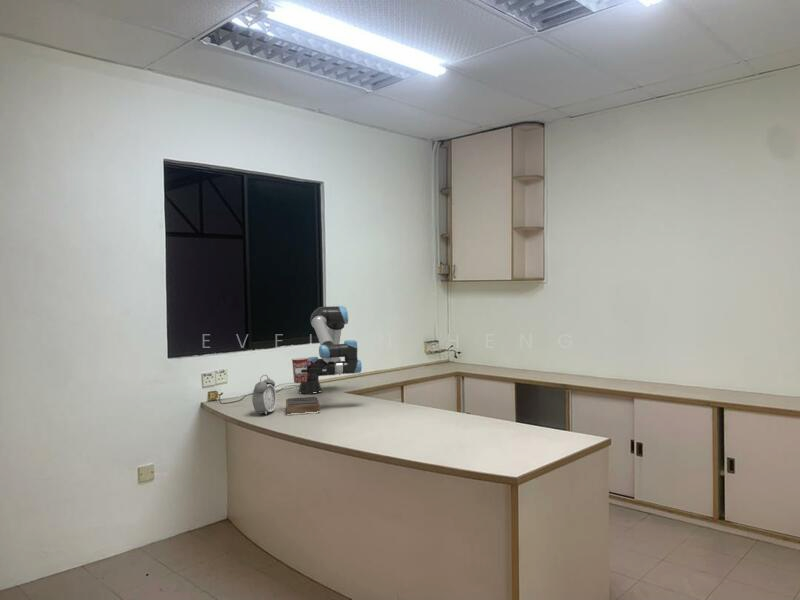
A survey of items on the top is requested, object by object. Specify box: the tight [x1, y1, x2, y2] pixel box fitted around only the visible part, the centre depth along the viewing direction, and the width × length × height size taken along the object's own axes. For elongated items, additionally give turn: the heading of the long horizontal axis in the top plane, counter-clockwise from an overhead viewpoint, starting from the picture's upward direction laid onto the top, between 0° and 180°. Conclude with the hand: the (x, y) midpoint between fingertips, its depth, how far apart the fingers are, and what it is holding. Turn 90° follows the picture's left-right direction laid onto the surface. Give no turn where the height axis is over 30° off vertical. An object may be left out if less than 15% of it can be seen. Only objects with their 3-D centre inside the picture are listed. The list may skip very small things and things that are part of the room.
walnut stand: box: [285, 396, 321, 415], centre depth 318 cm, size 18×18×6 cm
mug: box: [291, 357, 313, 384], centre depth 318 cm, size 13×9×14 cm
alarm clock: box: [251, 374, 277, 415], centre depth 312 cm, size 16×9×22 cm, turn 168°
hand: (294, 369), depth 316 cm, fingers closed on mug, 8 cm apart
